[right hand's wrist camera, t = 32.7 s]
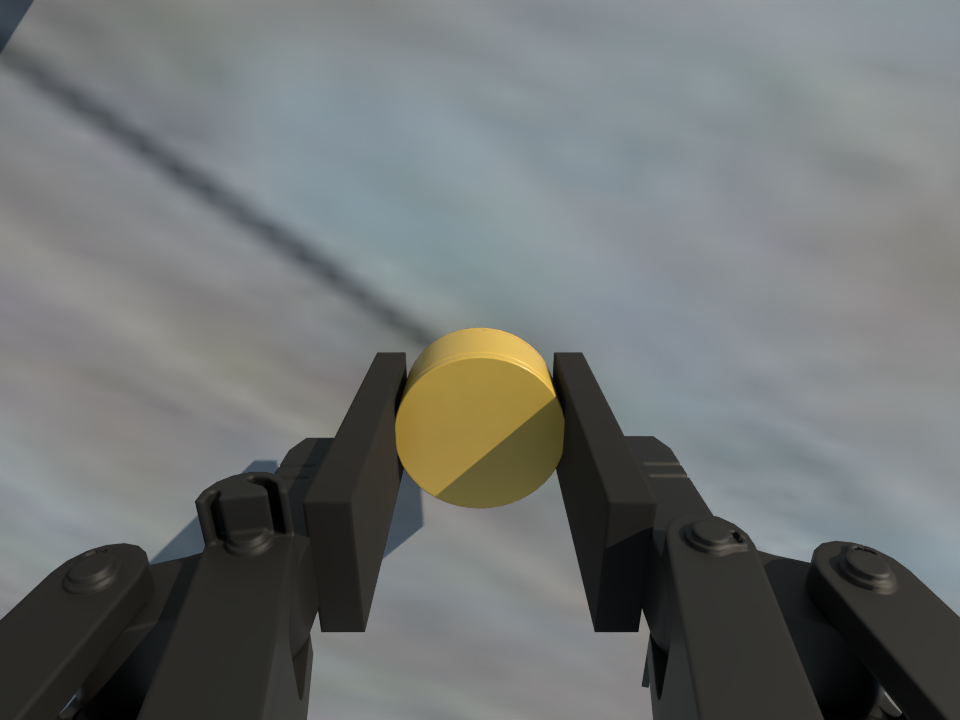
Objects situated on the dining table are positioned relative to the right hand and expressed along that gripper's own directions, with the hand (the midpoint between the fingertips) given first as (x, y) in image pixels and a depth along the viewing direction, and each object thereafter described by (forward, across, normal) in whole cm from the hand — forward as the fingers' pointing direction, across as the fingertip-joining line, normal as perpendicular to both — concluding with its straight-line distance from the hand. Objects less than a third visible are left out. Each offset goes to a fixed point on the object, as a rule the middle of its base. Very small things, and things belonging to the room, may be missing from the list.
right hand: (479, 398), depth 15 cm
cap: (-2, 0, 0) cm, 2 cm away
